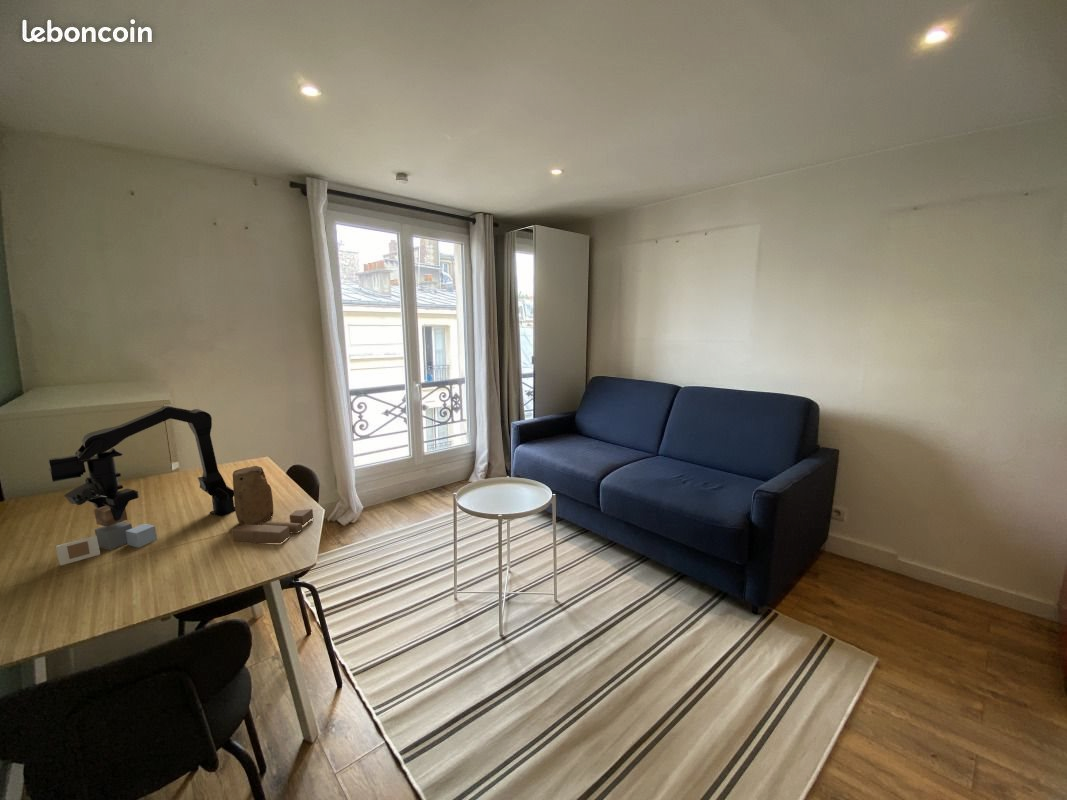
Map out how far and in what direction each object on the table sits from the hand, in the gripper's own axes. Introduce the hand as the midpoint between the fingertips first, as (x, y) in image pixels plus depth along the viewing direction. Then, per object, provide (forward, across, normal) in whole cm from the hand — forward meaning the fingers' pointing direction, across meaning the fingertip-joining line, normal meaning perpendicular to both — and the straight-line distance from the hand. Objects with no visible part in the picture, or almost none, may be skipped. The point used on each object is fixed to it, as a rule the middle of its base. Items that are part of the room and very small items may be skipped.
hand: (111, 518), depth 127 cm
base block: (+9, 0, 0) cm, 9 cm away
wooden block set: (+9, +41, +22) cm, 47 cm away
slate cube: (+9, +7, +3) cm, 11 cm away
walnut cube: (+1, 0, 0) cm, 1 cm away
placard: (+8, +1, -9) cm, 12 cm away
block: (+9, +28, +25) cm, 38 cm away
